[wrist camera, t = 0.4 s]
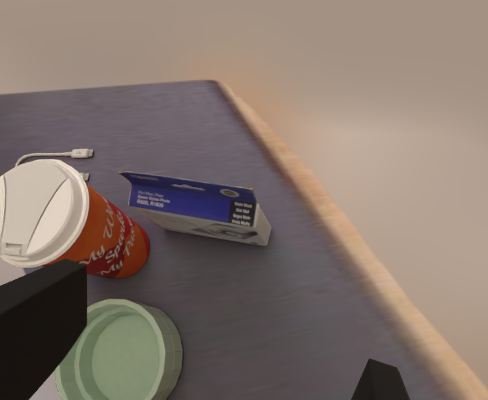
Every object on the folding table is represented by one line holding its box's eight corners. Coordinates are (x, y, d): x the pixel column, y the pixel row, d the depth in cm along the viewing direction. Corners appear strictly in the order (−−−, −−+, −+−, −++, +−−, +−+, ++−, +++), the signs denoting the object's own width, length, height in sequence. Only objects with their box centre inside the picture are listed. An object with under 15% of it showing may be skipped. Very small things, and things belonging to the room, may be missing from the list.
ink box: (162, 231, 43) (106, 195, 32) (168, 210, 44) (115, 167, 33) (269, 250, 40) (248, 217, 29) (274, 227, 41) (254, 186, 30)
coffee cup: (151, 294, 41) (60, 269, 27) (79, 285, 43) (-42, 258, 29) (167, 213, 43) (91, 153, 30) (97, 208, 45) (-5, 149, 31)
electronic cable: (92, 148, 48) (94, 149, 48) (17, 150, 49) (20, 152, 50) (86, 180, 46) (88, 182, 47) (10, 182, 48) (12, 183, 49)
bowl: (179, 419, 37) (158, 431, 32) (78, 412, 39) (44, 421, 34) (188, 304, 40) (170, 299, 35) (94, 302, 42) (65, 297, 37)
